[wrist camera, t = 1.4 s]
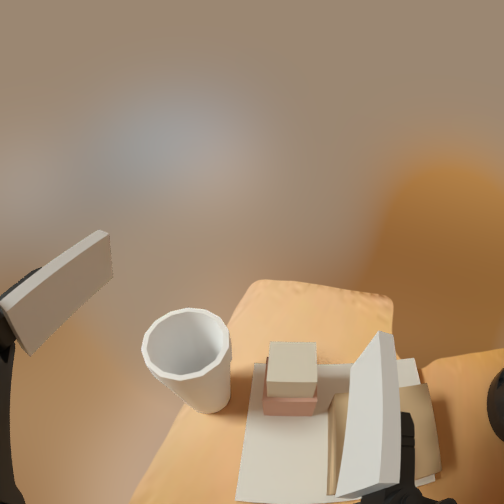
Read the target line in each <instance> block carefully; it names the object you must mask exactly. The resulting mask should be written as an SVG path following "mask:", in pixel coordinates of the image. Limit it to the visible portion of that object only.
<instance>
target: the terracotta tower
mask: <svg viewBox="0 0 504 504" xmlns="http://www.w3.org/2000/svg"><path fill="white" fill-rule="evenodd" d="M262 403H263V413H264V415H268V416H312V415H313V412H314V409H315V407H316V404H317V353H316V342H270V348H269V357H267V360H266V370H265V380H264V389H263V398H262Z"/></svg>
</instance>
